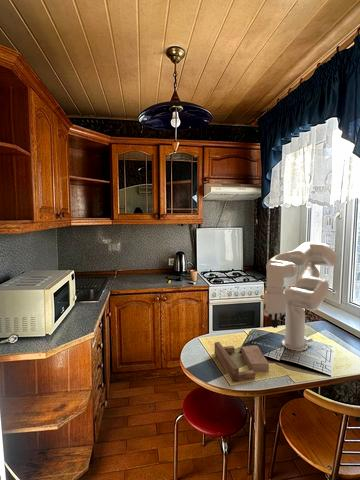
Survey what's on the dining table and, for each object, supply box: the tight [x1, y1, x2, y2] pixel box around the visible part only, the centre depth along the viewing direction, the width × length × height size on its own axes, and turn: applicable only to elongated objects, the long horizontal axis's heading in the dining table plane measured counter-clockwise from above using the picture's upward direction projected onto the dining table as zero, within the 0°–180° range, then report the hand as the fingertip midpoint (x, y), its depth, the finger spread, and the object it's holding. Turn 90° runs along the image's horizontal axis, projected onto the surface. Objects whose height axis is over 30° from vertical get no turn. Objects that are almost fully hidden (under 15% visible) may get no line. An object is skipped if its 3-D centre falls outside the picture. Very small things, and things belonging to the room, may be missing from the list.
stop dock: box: [214, 341, 256, 383], centre depth 125 cm, size 10×24×6 cm, turn 12°
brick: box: [241, 345, 270, 374], centre depth 127 cm, size 17×8×5 cm, turn 3°
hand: (274, 326), depth 128 cm, fingers closed
